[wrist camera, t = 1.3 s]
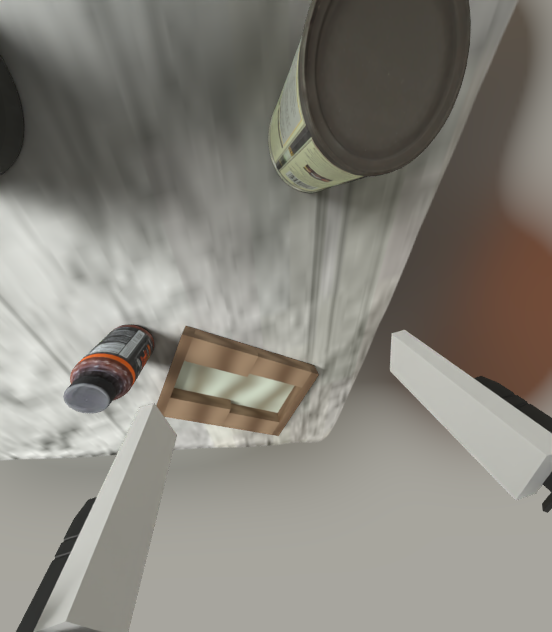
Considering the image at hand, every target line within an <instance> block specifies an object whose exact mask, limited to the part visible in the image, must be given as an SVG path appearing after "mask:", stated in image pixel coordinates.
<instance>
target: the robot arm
mask: <svg viewBox="0 0 552 632" xmlns="http://www.w3.org/2000/svg"><path fill="white" fill-rule="evenodd" d="M23 135H24V121H23V113H22V108H21V103H20V99H19V96H18V93H17V90H16V87H15V85H14V82H13V80H12V77H11V75H10V73H9V71H8V69H7V67H6V65H5V63H4V61H3V59H2V58H1V56H0V175H1V174H2V173H4V172H5V171H6V170H7V169H9V168H10V166H11V165H12V164H13V163H14V162H15V160H16V158H17V157H18V155H19V152H20V150H21V146H22V142H23ZM390 371H391V372H392V373H393V374H394V375H395V376H396V377H397V378H398V380H399V381H400V382H401V383H402V384H403V385H404V386H405V387H406V388H407V389H408V390H409V391H410V392H411V393H412V394H413V395H414V396H415V397H416V398H417V399H418V400H419V401H420V402H421V403H422V404H423V405H424V406H425V407H426V408H427V409H428V410H429V412H430V413H431V414H432V415H433V416H434V417H435V418H436V419H437V420H438V421H439V422H440V423H441V424H442V425H443V426H444V427H445V428H446V429H447V430H448V431H449V432H450V433H451V434H452V435H453V436H454V437H455V438H456V439H457V440H458V441H459V442H460V444H461V445H463V446H464V448H465V449H466V450H467V451H468V452H469V453H470V454H471V455H472V456H473V457H474V458H475V459H476V460H477V461H478V462H479V463H480V464H481V465H482V466H483V467H484V468H485V469H486V470H487V471H488V472H489V473H490V474H491V476H492V477H493V478H494V479H496V481H497V482H498V483H499V484H500V485H501V486H502V487H503V488H504V489H505V490H506V491H507V492H508V493H509V494H510V495H511V496H512V497H513V498H514V499H515V500H519V499H522V498H524V497H527V496H530V495H533V494H536V493H537V491H538V490H539V489H540V487H541V486H542V485H544V486H545V487H546V488H548V489H549V490H550V491H551V494H550V495H549V496H548V497H547V498H546V500H545V501H544V502H543V503H542V507H543V511H545V512H549V511H550V510H551V509H552V418H551V417H550V416H548V415H546V414H545V413H543V412H542V411H540V410H539V409H537V408H536V407H534V406H533V405H531V404H528V403H527V401H525V400H524V399H522V398H521V397H519V396H518V395H514V393H513V392H511V391H510V390H508V389H507V388H505V387H504V386H502V385H501V384H499V383H497V382H495V381H492V380H490V379H487V378H485V377H482V376H480V377H477V378H472V377H471V376H470V375H468V374H467V373H465V372H464V371H462V370H461V369H459V368H458V367H457V366H455V365H454V364H452V363H451V362H450V361H448V360H447V359H445V358H444V357H443V356H441V355H440V354H438V353H437V352H435V351H434V350H433V349H431V348H430V347H428V346H427V345H426V344H424V343H423V342H421V341H420V340H418V339H417V338H416V337H414V336H413V335H411V334H410V333H408V332H407V331H406V330H402V331H399V332H395V333H392V338H391V357H390ZM176 437H177V434H176V433H175V431H174V430H173V429H172V427H171V426H170V424H169V423H168V422H167V420H166V419H165V417H164V416H163V415H162V413H161V412H160V410H159V409H158V408H157V406H156V405H155V403H152V404H149V405H145V406H142V407H139V409H138V411H137V413H136V415H135V417H134V420H133V422H132V424H131V426H130V428H129V430H128V432H127V434H126V437H125V439H124V441H123V443H122V445H121V447H120V449H119V451H118V453H117V456H116V458H115V460H114V462H113V464H112V466H111V468H110V471H109V473H108V475H107V477H106V479H105V481H104V483H103V485H102V487H101V490H100V492H99V494H98V496H97V497H96V498H93V499H89V500H88V501H87V502H86V504H85V505H84V506H83V508H82V509H81V510H80V511H79V513H78V514H77V515H76V517H75V518H74V520H73V522H72V524H71V526H70V528H69V529H68V531H67V533H66V536H65V537H64V542H63V543H61V545H60V547H59V549H58V551H57V553H56V555H55V559H54V560H53V561H52V563H51V565H50V566H49V568H48V570H47V572H46V574H45V576H44V578H43V580H42V582H41V584H40V586H39V588H38V590H37V592H36V594H35V596H34V598H33V600H32V602H31V604H30V605H29V607H28V609H27V611H26V613H25V615H24V617H23V619H22V621H21V623H20V625H19V627H18V629H17V631H16V632H128V631H129V627H130V623H131V619H132V615H133V610H134V607H135V603H136V598H137V595H138V590H139V587H140V582H141V579H142V575H143V570H144V566H145V562H146V558H147V554H148V550H149V546H150V542H151V538H152V534H153V530H154V526H155V522H156V518H157V514H158V510H159V506H160V502H161V498H162V494H163V489H164V486H165V482H166V477H167V473H168V469H169V465H170V461H171V457H172V453H173V449H174V445H175V441H176Z"/></svg>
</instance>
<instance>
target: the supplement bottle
mask: <svg viewBox="0 0 552 632" xmlns="http://www.w3.org/2000/svg"><path fill="white" fill-rule="evenodd" d="M153 349H154V340H153V337H152V336H151V334H150V333H149V332H148V331H146V330H145V329H143V328H141V327H139V326H136V325H122V326H119V327H117V328H115V329H114V330H113V331H111V332H110V333H109V334H108V335H107V336H106V337H105V338H104V339H103V340H102V341H101V342H100V343H99V344H98V345H97V346H95V347H94V348H93V349H92V350H91V351H90V352H89V353H88V354H87V355H86V356H85V357H84V358H83V359H82V360H81V361H80V362H79V363H78V364H77V365H76V366H75V367H74V369H73V370H72V372H71V376H70V382H71V385H70V386H69V387H68V388H67V389H66V391H65V393H64V396H63V397H64V401H65V403H66V404H67V405H68V406H69V407H70V408H72V409H74V410H76V411H78V412H82V413H98V412H101V411H103V410H105V409H106V408H107V407H108V406H109V404H110V403H111V402H112V401H113V400H116V399H118V398H120V397H122V396H124V395H125V394H126V393H127V392H128V391H129V390H130V389H131V387H132V385H133V384H134V382H135V381H136V379H137V377H138V375H139V374H140V372H141V370H142V369H143V367H144V365H145V364H146V362H147V361H148V359H149V357H150V355H151V354H152V352H153Z"/></svg>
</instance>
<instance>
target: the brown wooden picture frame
mask: <svg viewBox="0 0 552 632" xmlns="http://www.w3.org/2000/svg"><path fill="white" fill-rule="evenodd" d="M318 375H319V374H318V372H317V370H316V368H315V366H314V365H311V364H308V363H305V362H301V361H298V360H295V359H292V358H288V357H285V356H282V355H279V354H276V353H272V352H269V351H266V350H263V349H259V348H256V347H253V346H250V345H246V344H243V343H240V342H237V341H234V340H230V339H227V338H224V337H221V336H217V335H214V334H211V333H208V332H204V331H201V330H198V329H195V328H192V327H188V326H185V329H184V331H183V333H182V336H181V339H180V341H179V344H178V347H177V350H176V352H175V355H174V358H173V361H172V364H171V366H170V369H169V372H168V375H167V378H166V380H165V383H164V386H163V389H162V391H161V394H160V397H159V400H158V403H157V405H156V406H157V408H158V409H159V410H160V412H161V413H162V415H163V416H164V417H170V418H176V419H182V420H188V421H193V422H199V423H205V424H211V425H217V426H223V427H229V428H235V429H241V430H247V431H252V432H258V433H264V434H270V435H276V436H279V434H280V433H281V431H282V430H283V428H284V427H285V425H286V424H287V422H288V421H289V419H290V418H291V416H292V415H293V413H294V412H295V410H296V409H297V407H298V406H299V404H300V403H301V401H302V400H303V398H304V397H305V395H306V393H307V392H308V390H309V389H310V387H311V386H312V384H313V383H314V381H315V380H316V378H317V377H318Z"/></svg>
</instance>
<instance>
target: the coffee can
mask: <svg viewBox="0 0 552 632" xmlns="http://www.w3.org/2000/svg"><path fill="white" fill-rule="evenodd" d="M470 26H471V19H470V7H469V0H312V2H311V4H310V7H309V10H308V14H307V17H306V20H305V25H304V29H303V33H302V37H301V40H300V43H299V46H298V48H297V51H296V54H295V57H294V59H293V62H292V65H291V68H290V71H289V73H288V76H287V79H286V81H285V84H284V87H283V90H282V92H281V95H280V98H279V100H278V103H277V105H276V107H275V109H274V112H273V114H272V118H271V121H270V126H269V135H268V145H269V151H270V156H271V160H272V163H273V165H274V167H275V169H276V171H277V173H278V174H279V176H280V177H281V178H282V180H283V181H285V182H286V183H287V184H288V185H289V186H291V187H292V188H294V189H296V190H299V191H302V192H310V193H312V192H318V191H321V190H323V189H326V188H329V187H333V186H336V185H340V184H343V183H346V182H351V181H354V180H357V179H361V178H364V177H368V176H377V175H383V174H387V173H390V172H393V171H395V170H398V169H400V168H402V167H404V166H405V165H407V164H408V163H410V162H411V161H413V160H414V159H415V158H416V157H417V156H419V155H420V154H421V153H422V152H423V151H424V150H425V149H426V148H427V147H428V146H429V144H430V143H431V142H432V141H433V139H434V138H435V137H436V135H437V134H438V133H439V131H440V130H441V128H442V127H443V125H444V124H445V122H446V120H447V118H448V117H449V115H450V112H451V110H452V108H453V106H454V104H455V101H456V99H457V96H458V94H459V91H460V88H461V85H462V81H463V77H464V73H465V69H466V66H467V58H468V53H469V46H470Z"/></svg>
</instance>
